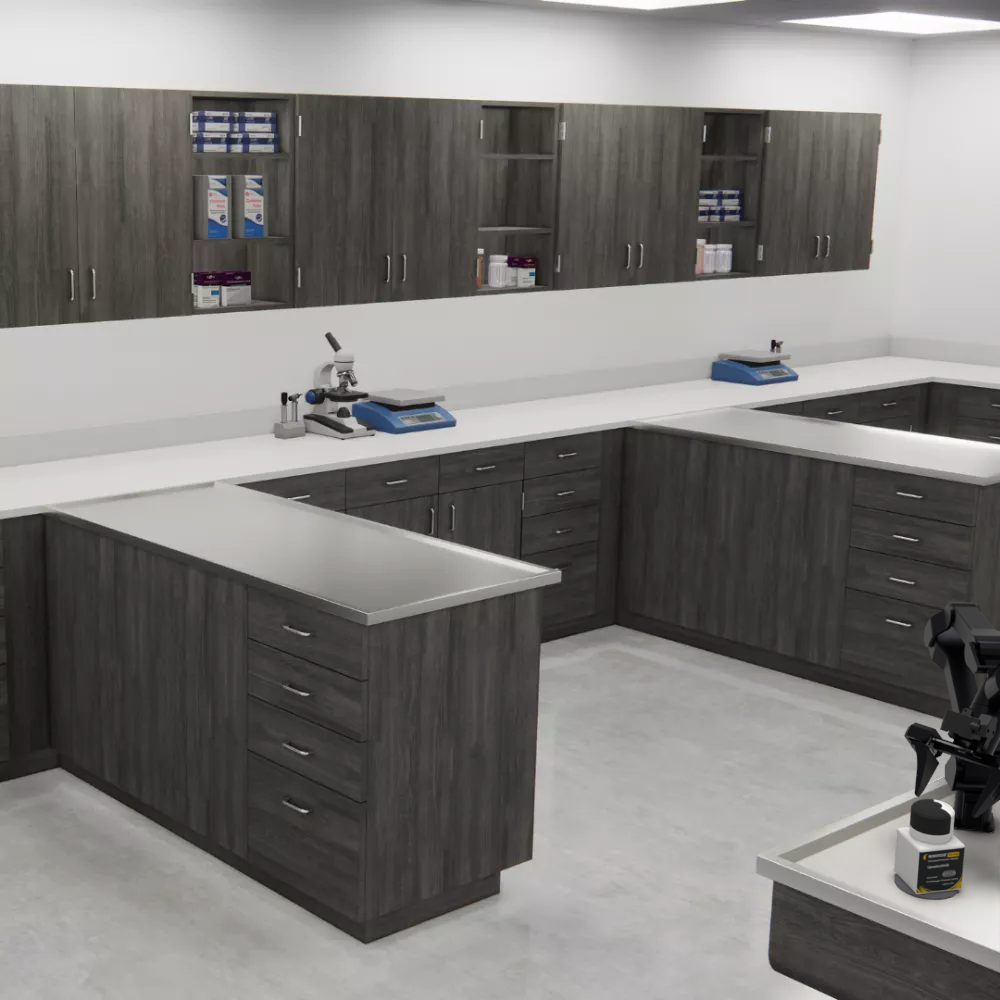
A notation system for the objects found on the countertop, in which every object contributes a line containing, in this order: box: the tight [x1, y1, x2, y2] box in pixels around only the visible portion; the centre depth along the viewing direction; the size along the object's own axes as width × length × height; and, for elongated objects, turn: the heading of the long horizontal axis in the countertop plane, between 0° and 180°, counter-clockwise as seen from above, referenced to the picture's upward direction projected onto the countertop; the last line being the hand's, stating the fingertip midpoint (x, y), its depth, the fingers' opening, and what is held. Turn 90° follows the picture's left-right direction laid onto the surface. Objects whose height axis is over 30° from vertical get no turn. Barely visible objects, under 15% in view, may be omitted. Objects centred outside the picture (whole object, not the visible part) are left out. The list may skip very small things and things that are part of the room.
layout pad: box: [894, 873, 959, 901], centre depth 209 cm, size 9×9×1 cm
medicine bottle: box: [893, 798, 966, 894], centre depth 208 cm, size 7×7×12 cm
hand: (944, 805), depth 209 cm, fingers open, 9 cm apart
